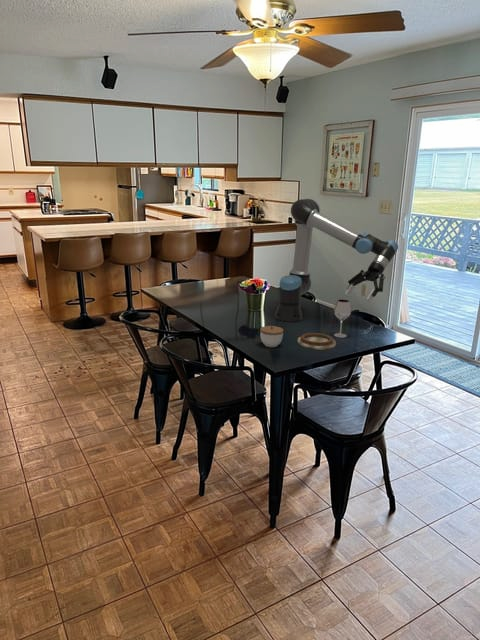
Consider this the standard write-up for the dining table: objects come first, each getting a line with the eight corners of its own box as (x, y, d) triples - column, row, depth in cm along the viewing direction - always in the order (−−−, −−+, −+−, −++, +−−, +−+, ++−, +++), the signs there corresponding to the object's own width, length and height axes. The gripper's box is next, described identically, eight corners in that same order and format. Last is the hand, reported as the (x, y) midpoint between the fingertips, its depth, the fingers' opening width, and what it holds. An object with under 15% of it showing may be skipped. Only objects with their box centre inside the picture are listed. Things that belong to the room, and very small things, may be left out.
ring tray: (294, 347, 221) (295, 341, 220) (300, 335, 238) (300, 330, 237) (334, 351, 217) (334, 345, 216) (337, 339, 233) (337, 334, 233)
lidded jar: (284, 348, 218) (285, 329, 216) (261, 349, 217) (261, 329, 215) (280, 341, 228) (281, 322, 226) (258, 341, 228) (259, 322, 225)
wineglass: (345, 339, 234) (348, 303, 229) (329, 336, 238) (332, 301, 233) (350, 335, 241) (354, 300, 236) (335, 332, 245) (338, 298, 240)
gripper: (401, 274, 239) (380, 307, 234) (361, 267, 257) (340, 297, 253) (396, 264, 234) (375, 298, 229) (355, 258, 253) (334, 288, 248)
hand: (356, 298), depth 241 cm, fingers open, 13 cm apart
